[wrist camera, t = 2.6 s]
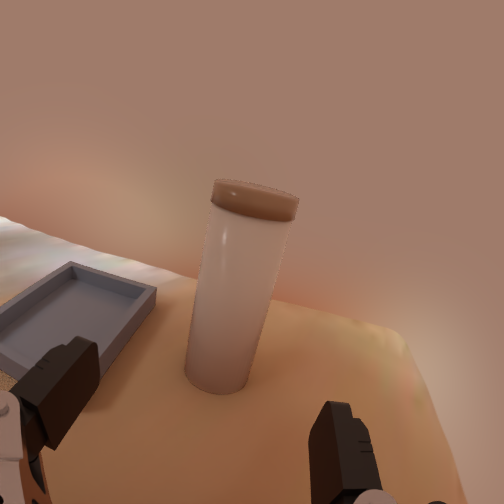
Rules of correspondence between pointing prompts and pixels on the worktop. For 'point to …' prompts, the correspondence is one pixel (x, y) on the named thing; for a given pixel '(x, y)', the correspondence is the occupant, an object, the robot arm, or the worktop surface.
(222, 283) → the canister
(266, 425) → the worktop surface
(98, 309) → the dish
